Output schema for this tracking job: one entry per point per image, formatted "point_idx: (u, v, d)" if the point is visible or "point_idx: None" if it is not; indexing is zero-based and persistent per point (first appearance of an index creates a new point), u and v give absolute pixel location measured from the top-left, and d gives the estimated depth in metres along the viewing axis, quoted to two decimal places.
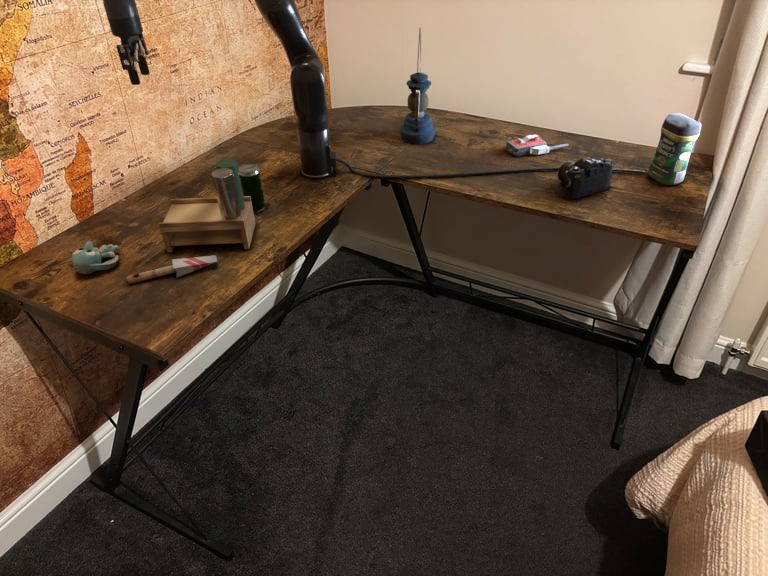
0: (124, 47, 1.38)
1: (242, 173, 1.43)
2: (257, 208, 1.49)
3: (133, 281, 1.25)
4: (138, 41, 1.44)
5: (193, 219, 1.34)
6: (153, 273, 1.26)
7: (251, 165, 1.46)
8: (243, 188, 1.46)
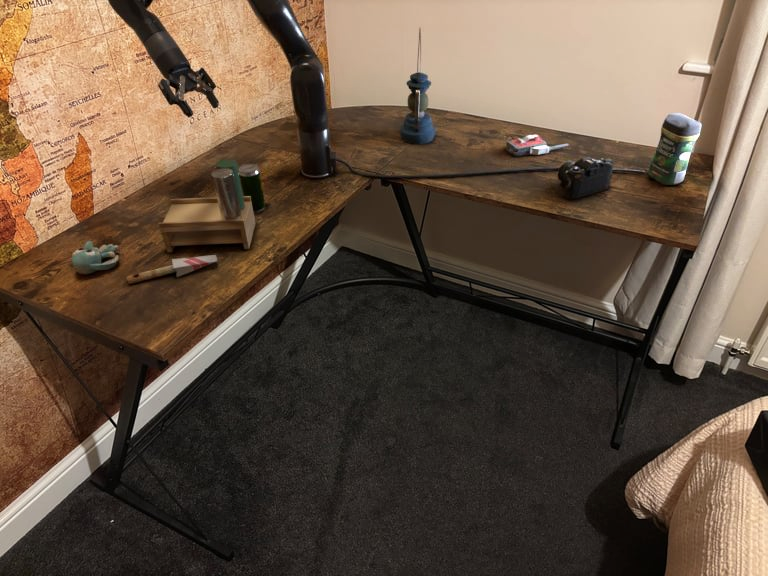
0: (160, 82, 1.37)
1: (242, 173, 1.43)
2: (257, 208, 1.49)
3: (133, 281, 1.25)
4: (188, 74, 1.41)
5: (193, 219, 1.34)
6: (153, 273, 1.26)
7: (251, 165, 1.46)
8: (243, 188, 1.46)
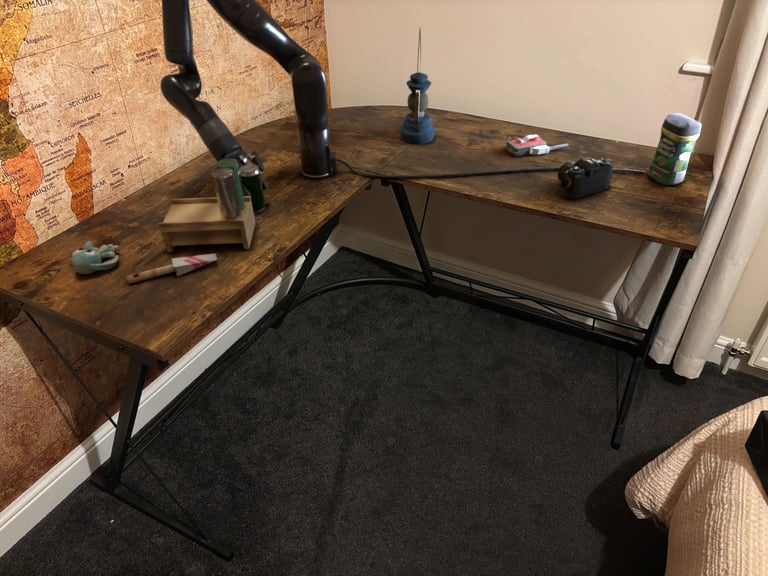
0: None
1: (242, 173, 1.43)
2: (257, 208, 1.49)
3: (133, 281, 1.25)
4: (239, 157, 1.46)
5: (193, 219, 1.34)
6: (153, 273, 1.26)
7: (251, 165, 1.46)
8: None
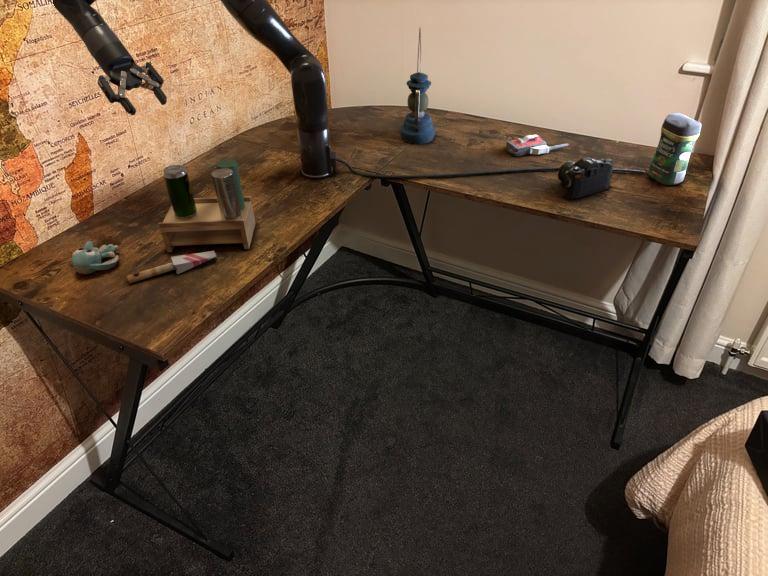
0: (98, 78, 1.28)
1: (166, 175, 1.27)
2: (186, 214, 1.33)
3: (134, 280, 1.25)
4: (130, 69, 1.32)
5: (193, 219, 1.34)
6: (153, 271, 1.26)
7: (178, 166, 1.30)
8: (169, 191, 1.30)
